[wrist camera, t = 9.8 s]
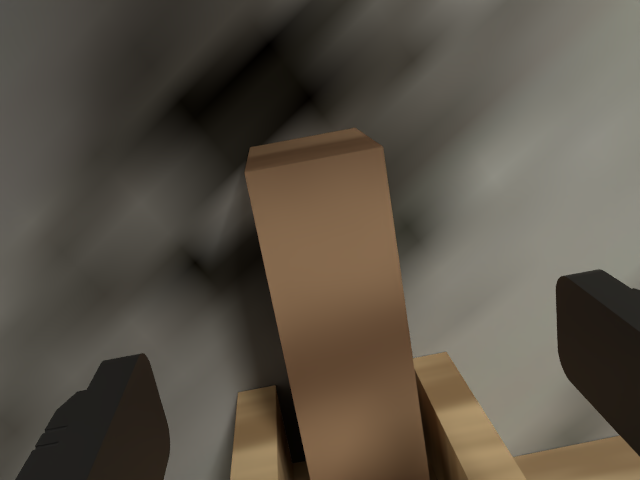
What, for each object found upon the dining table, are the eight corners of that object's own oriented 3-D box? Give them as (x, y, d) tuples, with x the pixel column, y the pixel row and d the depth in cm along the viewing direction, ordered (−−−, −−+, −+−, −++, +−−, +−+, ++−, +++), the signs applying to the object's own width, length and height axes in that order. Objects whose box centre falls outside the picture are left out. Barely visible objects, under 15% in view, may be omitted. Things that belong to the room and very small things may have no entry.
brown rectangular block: (247, 147, 22) (240, 175, 16) (357, 127, 22) (388, 147, 16) (308, 436, 25) (319, 539, 20) (401, 417, 26) (439, 514, 20)
